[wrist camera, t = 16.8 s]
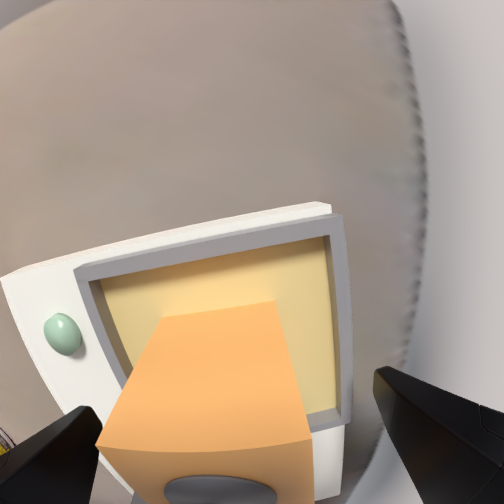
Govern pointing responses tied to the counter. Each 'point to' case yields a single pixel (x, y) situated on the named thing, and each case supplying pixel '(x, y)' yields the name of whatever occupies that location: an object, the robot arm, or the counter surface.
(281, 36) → the counter surface
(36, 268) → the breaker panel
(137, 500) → the block
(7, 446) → the supplement bottle
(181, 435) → the cap
